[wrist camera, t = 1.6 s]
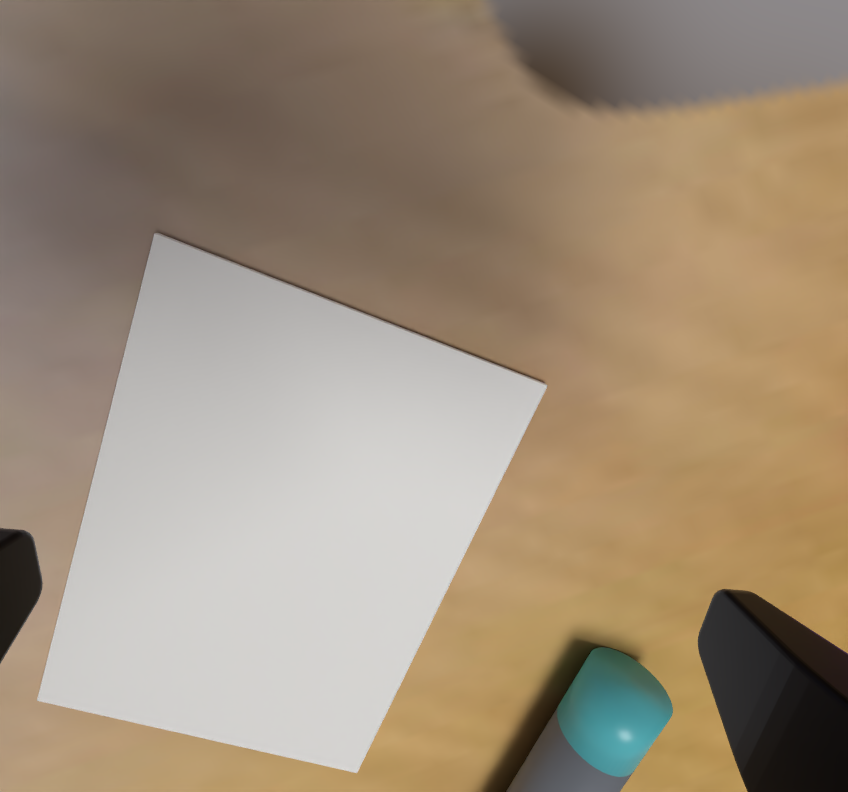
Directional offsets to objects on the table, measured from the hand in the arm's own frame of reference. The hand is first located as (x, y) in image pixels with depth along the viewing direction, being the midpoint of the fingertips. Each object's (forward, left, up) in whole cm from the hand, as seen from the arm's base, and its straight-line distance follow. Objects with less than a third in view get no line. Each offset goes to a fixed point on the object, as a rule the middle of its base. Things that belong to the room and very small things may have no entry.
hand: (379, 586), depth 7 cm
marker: (-17, -14, -13) cm, 25 cm away
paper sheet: (-9, +1, -13) cm, 15 cm away
